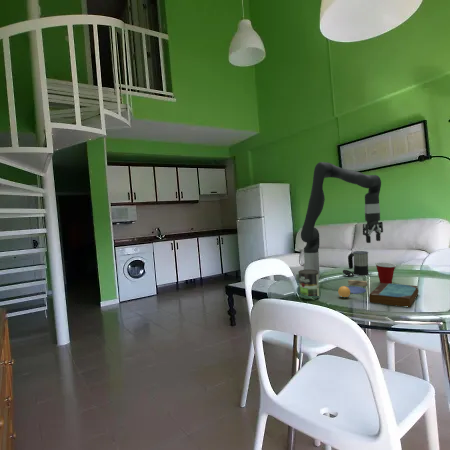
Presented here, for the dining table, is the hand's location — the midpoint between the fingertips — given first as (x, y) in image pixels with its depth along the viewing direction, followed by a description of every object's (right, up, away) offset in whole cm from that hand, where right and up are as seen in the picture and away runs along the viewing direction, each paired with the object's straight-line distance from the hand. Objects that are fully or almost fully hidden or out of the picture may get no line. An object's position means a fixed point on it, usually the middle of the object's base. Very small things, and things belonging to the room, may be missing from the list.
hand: (373, 241), depth 177 cm
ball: (-19, -26, -9) cm, 33 cm away
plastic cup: (+12, -25, +10) cm, 29 cm away
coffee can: (-36, -30, -4) cm, 46 cm away
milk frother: (+5, -24, +36) cm, 43 cm away
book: (+4, -28, -15) cm, 32 cm away
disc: (-10, -27, +4) cm, 29 cm away
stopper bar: (-4, -26, +12) cm, 29 cm away
